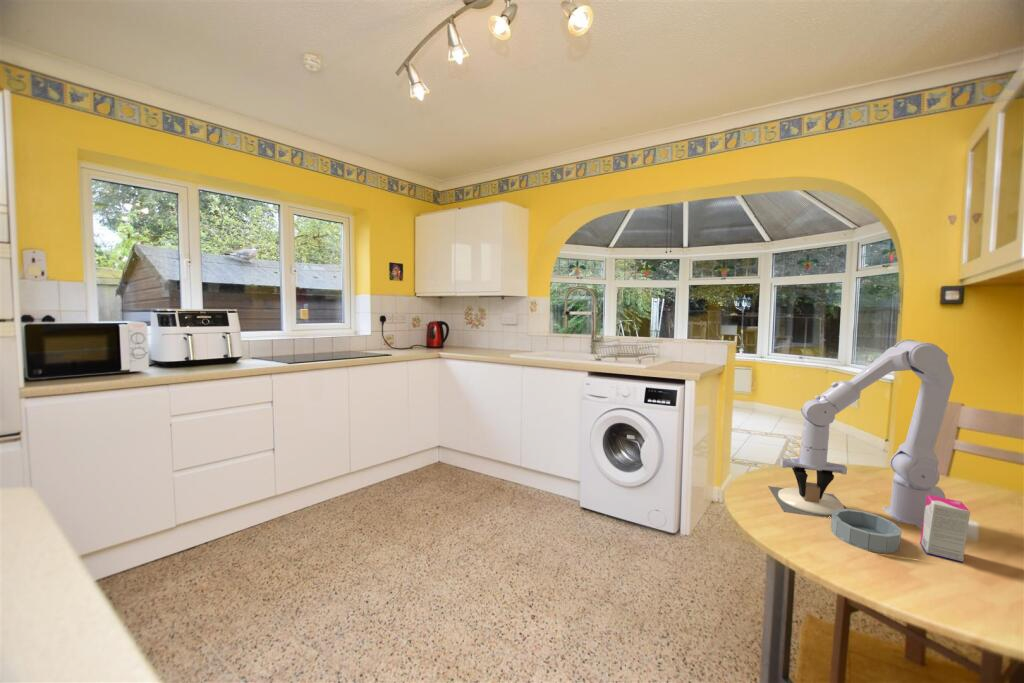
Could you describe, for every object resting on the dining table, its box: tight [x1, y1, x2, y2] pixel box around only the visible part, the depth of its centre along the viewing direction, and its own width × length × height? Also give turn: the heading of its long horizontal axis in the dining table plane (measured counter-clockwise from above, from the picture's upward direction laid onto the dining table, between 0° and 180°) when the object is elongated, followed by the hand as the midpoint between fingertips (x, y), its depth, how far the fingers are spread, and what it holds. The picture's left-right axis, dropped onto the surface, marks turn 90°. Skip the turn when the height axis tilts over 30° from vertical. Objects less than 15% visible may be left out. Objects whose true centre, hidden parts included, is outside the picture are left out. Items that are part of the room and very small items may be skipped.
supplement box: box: [919, 495, 971, 564], centre depth 95 cm, size 6×6×12 cm
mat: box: [768, 485, 847, 519], centre depth 117 cm, size 16×16×1 cm
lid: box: [778, 481, 845, 516], centre depth 117 cm, size 14×14×5 cm
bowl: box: [830, 508, 903, 555], centre depth 100 cm, size 12×12×4 cm
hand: (810, 496), depth 117 cm, fingers closed on lid, 3 cm apart
